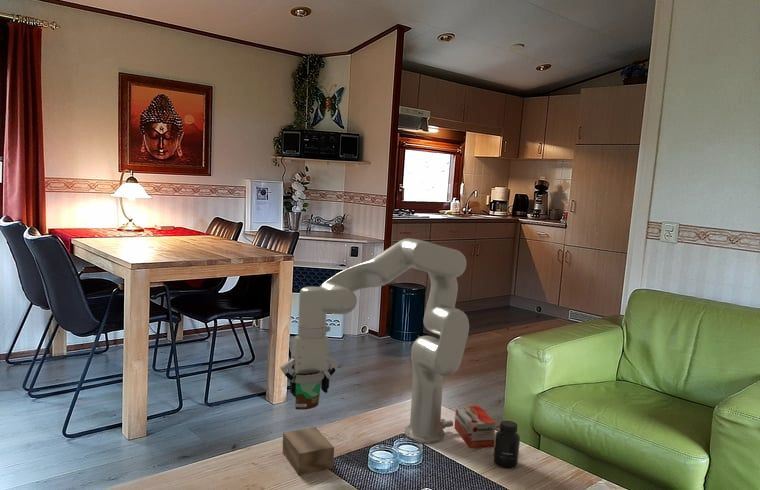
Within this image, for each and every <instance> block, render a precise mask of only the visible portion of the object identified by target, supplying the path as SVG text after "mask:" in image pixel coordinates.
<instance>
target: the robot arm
mask: <svg viewBox="0 0 760 490" xmlns="http://www.w3.org/2000/svg"><path fill="white" fill-rule="evenodd" d="M466 268H467V258H466V256H465V255H464V254H463V253H462V252H461V251H460V250H458V249H454V248H450V247H448V246H447V247H446V246H442V245H439V244H435V243H433V242H430V241H426V240H421V239H418V238H417V239H416V238H411V237H409V238H407V237H406V238H404V239H401V240H399V241H398V242H396V243H394V244H393V245H391V246H390V247H389V248H387V249H384V251H382V252H380V253H379V254H377V255H376V256H373V258H371V259H369V260H367V261H365V262H362V263H358V264H356V265H353V266H351V267H348V268H346V269H344V270H342V271H340V272H337V273H336V274H334V275H333V276H331V277H330V278H328V279H326V280H325V281H324V282H323V283H322V284H320V286H304V287H302V288H301V289H300V291H299V296H298V297H299V299H298V300H299V301H298V326H297V335H295V336H294V338H293V342H292V348H291V356H290V359H289V360H288V361H287V362H285V363H284V364H282V365H281V366H280V371H281V372H282V373H283V375H284V376H285V377H286V378H287V379H288V380H289V393H290V394H291V395H292V396H293V397H295V398H296V383H295V380H296V375H301V374H310V373H319V372H321V371H322V372H324V378H323V379H322V380H321V388H320V391H323V393H325V394H328V392H329V391H328V390H329V388H330V379H331V378H332V376H333V374H335V372H336V370H337V368H338V367H339V365H340V362H339V361H338V360H337V359H334V358H333V357H331V356H330V345H329V338H328V335H327V333H328V332H331V327H330V326H328V325H327V314H331V315H347V314H350V313H351V312H352V311H353V310H354V309H355V308H356V306H357V303H358V299H357V296H356V294H355V291H358V290H362V289H367V288H378V287H383V286H386V285H387V284H390V282H392V281H394V280H395V279H396V278H398V277H399V276H401V275H402V274H404V273H405V272H407V271H408V270H409V269H415V270H419V271H423V272H426V273H427V274H428V278H429V279H430V280H429V281H430V290H429V295H428V299H427V302H426V303H427V304H426V307H425V311H424V316H423V321H422V322H423V326H424V328H425V329H426V330H427V331H429V332H430V333H432V334H435V335H438V336H439V338H436V337H434V336H430V335H422V336H420V337H417V338H416V339H415V340H414V341H413V343H412V345H411V349H410V357H411V358H410V359H411V366H412V382H411V383H412V385H411V400H410V401H411V402H410V403H411V405H410V421H409V423H410V424H409V425H408V426H406V427H405V429H404V435H405V436H406V437H407V438H408V437H409V438H411V439H414V440H417V441H420V442H419V443H421V442H422V444H434V443H438V442H441V441H442V440H444V439H445V431H444V429H446V428H450V427H453V426H454V422H453V420H446V419H445V418H442V417H441V416H442V400H443V386H444V385H443V383H444V379H443V377H451V376H452V375H454V374H455V373H456V372H457V371H458V370H459V368H460V366H461V363H462V360H463V357H464V353H465V349H466V348H465V347H466V344H467V340H468V337H469V332H470V321H469V318H468V315H467V314H466V313H465V312H464V311H463V310H461V309H459V308H456V302H457V297H458V292H459V291H458V288H459V284H458V280H457V278H458V277H460V276H462V275H463V274H464V272H465V271H466ZM330 363H331V366H330ZM289 369H290V370H292V372H291V373H290V372H289ZM409 438H408V439H409ZM411 439H410V440H411Z"/></svg>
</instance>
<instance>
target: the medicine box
mask: <svg viewBox="0 0 760 490" xmlns="http://www.w3.org/2000/svg"><path fill="white" fill-rule="evenodd" d="M454 430H455V431H456V432H457V433H458V435H459V436H460V438H461V439H462V440H463V442H464V443H465V445H466V446H467V447H468V448H469V449H484V448H485V449H486V448H495V436H496V422H495V421H494V419H492V417H490V416H489V413H487V412H486V411H485V410H484V409H483V408H482V407H481V406H480V405H456V406H455V415H454Z"/></svg>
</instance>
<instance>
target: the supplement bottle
mask: <svg viewBox="0 0 760 490" xmlns="http://www.w3.org/2000/svg"><path fill="white" fill-rule="evenodd" d="M499 425H500V426H499V430H497V431H496V432H495V437H494V449H493V450H494V451H493V462H494V464H495V465H497V467H500V468H502V469H508V470H509V469H515V468H517V466H518V462H519V453H520V442H521V437H520V434H519V433H518V424H517V423H516V422H515V421H511V420H502V421H500V424H499Z"/></svg>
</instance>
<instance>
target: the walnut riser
mask: <svg viewBox="0 0 760 490" xmlns="http://www.w3.org/2000/svg"><path fill="white" fill-rule="evenodd" d="M282 454H283V455H284V457H285V458H286V460H287V461H288V462H289V464H290V465H291V466H292V468H293V470H294V471H295V472H296V474H297V475H298V476H301V475H307V474H312V473H317V472H321V471H327V470H331V469H334V463H335V462H334V460H335V447H334V445H332V443H331V442H330V441H328V439H327V438H326V436H325V435H323V433H322V432H321V431H320V430H319V429H318V428H317V427H316V426H315V427H310V428H302V429H298V430H297V429H296V430H292V431H291V430H290V431H284V432H282Z"/></svg>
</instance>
